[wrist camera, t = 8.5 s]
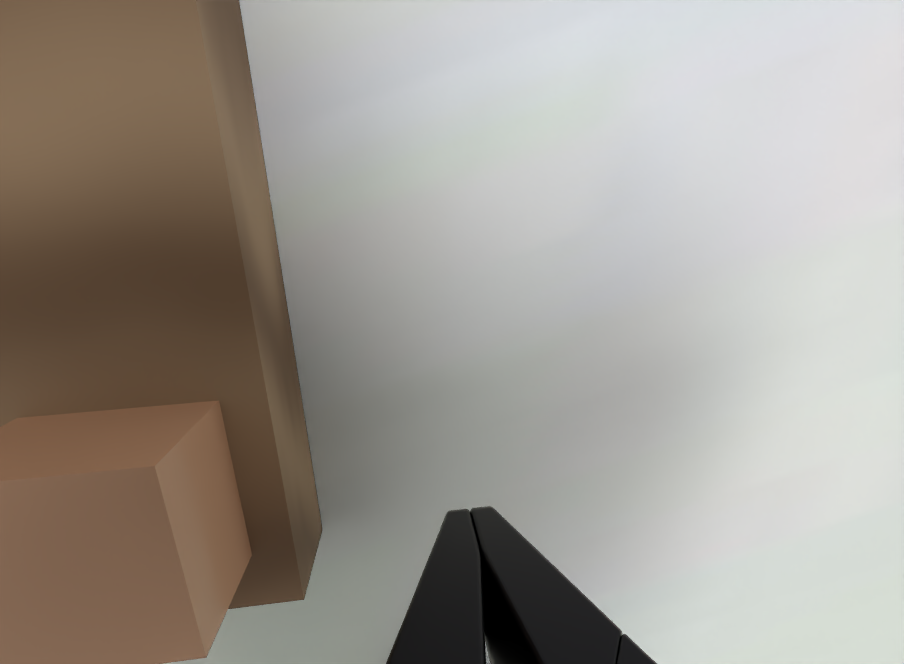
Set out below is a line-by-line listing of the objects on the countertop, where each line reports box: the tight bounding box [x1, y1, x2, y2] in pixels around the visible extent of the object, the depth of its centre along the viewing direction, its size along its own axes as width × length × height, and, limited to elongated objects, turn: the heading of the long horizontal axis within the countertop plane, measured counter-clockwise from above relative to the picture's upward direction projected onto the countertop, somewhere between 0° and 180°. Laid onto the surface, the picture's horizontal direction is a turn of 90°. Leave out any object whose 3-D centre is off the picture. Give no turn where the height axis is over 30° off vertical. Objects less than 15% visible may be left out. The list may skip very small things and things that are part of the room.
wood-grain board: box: [0, 0, 322, 609], centre depth 10 cm, size 15×8×2 cm, turn 3°
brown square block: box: [0, 400, 252, 664], centre depth 9 cm, size 4×4×2 cm
